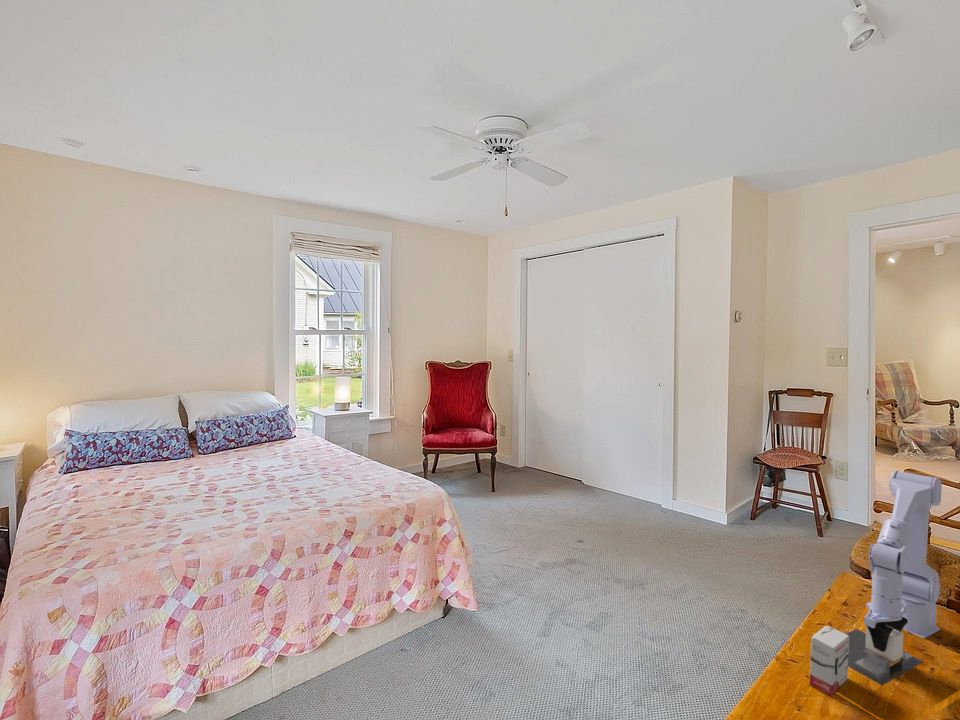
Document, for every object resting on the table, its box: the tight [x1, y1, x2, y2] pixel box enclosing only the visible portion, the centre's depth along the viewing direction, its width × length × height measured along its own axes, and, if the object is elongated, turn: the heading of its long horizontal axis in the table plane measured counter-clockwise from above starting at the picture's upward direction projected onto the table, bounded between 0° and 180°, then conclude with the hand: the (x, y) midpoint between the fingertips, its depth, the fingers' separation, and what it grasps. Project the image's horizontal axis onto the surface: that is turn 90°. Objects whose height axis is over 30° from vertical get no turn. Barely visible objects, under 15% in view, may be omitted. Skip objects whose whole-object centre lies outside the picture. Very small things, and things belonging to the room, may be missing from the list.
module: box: [865, 625, 904, 662], centre depth 124 cm, size 4×6×6 cm, turn 25°
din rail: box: [846, 628, 924, 686], centre depth 127 cm, size 18×15×4 cm
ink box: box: [808, 625, 849, 697], centre depth 118 cm, size 8×5×12 cm, turn 123°
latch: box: [872, 651, 901, 667], centre depth 124 cm, size 5×5×1 cm
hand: (884, 646), depth 124 cm, fingers closed on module, 4 cm apart
